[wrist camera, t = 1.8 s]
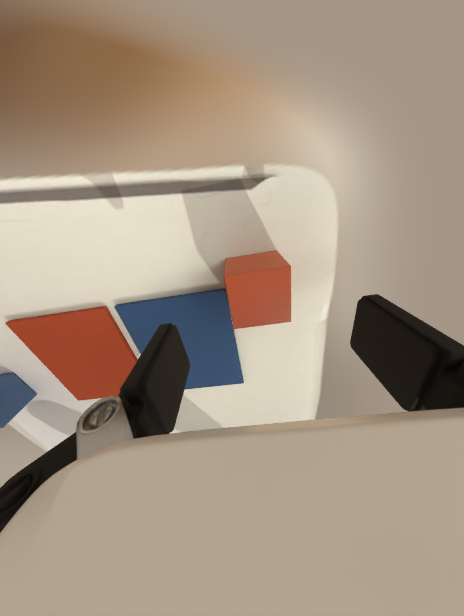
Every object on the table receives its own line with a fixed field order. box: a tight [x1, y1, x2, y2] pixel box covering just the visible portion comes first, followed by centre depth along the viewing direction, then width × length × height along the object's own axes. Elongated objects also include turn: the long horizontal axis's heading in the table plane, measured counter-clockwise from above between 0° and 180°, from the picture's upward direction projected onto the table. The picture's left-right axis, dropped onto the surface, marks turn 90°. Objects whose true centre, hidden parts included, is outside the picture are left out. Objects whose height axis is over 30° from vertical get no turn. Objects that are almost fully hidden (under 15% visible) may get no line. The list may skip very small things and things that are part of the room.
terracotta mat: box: [5, 306, 138, 400], centre depth 20 cm, size 12×10×1 cm
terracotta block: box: [224, 251, 291, 329], centre depth 14 cm, size 4×4×4 cm
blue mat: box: [115, 289, 244, 389], centre depth 19 cm, size 12×10×1 cm
